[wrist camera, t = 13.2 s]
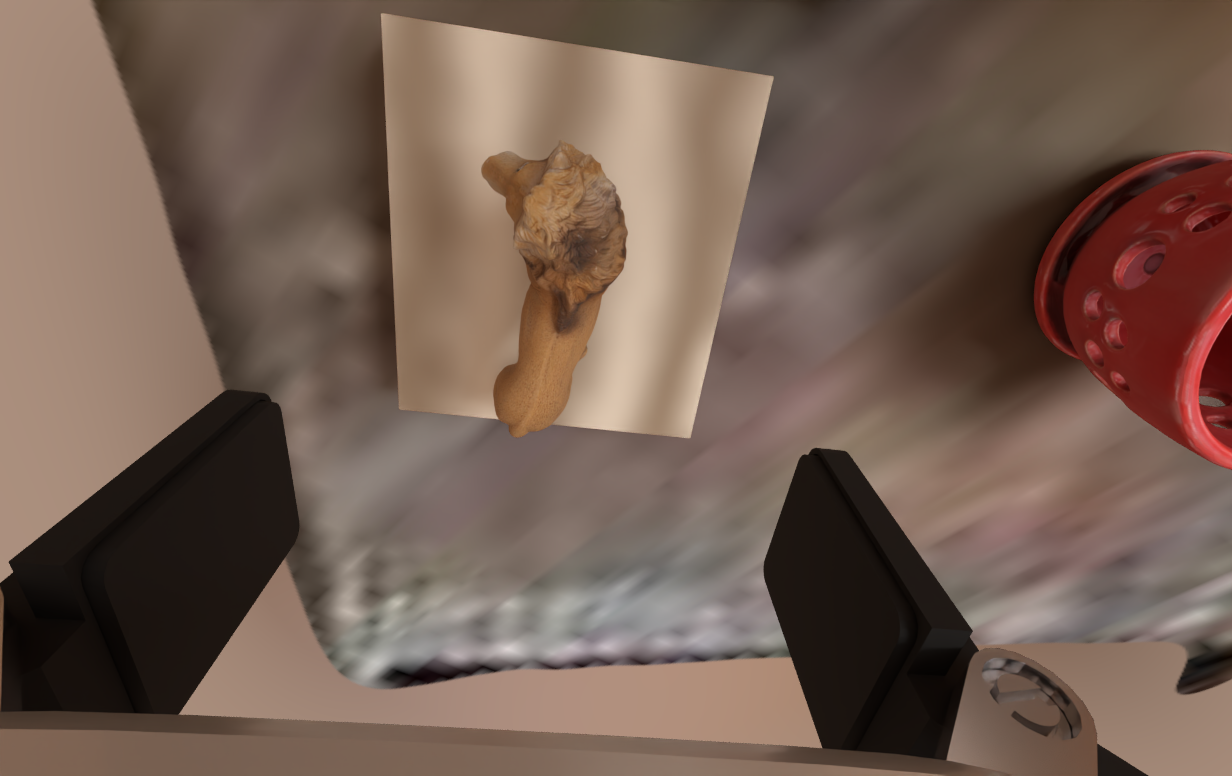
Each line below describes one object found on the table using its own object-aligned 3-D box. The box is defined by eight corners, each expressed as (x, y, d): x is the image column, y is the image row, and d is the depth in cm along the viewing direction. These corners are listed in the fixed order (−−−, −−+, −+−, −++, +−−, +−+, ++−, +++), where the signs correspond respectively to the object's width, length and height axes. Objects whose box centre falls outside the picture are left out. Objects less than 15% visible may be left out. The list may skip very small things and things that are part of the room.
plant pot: (1165, 77, 28) (1523, 64, 17) (1283, 237, 32) (1634, 307, 21) (951, 284, 32) (1127, 377, 22) (1078, 402, 36) (1280, 529, 25)
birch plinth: (750, 79, 27) (773, 76, 23) (680, 403, 35) (690, 438, 32) (410, 24, 26) (381, 13, 22) (419, 376, 34) (399, 409, 30)
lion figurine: (509, 122, 24) (467, 133, 16) (632, 140, 24) (651, 161, 16) (495, 417, 31) (460, 530, 23) (592, 427, 31) (591, 541, 23)
